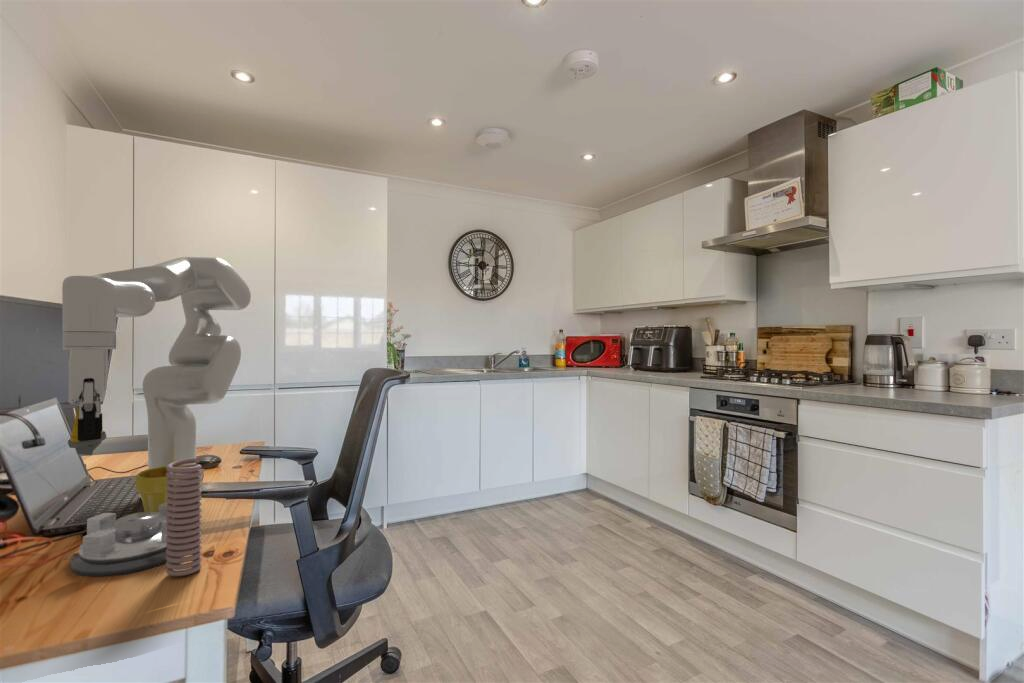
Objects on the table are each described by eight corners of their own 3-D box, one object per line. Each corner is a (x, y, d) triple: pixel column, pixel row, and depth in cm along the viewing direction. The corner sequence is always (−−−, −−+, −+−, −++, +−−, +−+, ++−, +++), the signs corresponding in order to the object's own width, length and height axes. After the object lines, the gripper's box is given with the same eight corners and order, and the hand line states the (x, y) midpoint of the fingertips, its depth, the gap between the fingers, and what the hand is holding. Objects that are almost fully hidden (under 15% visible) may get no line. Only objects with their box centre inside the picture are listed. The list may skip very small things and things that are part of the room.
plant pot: (201, 516, 98) (201, 470, 98) (138, 530, 91) (138, 480, 91) (191, 504, 105) (191, 461, 105) (133, 516, 98) (133, 470, 98)
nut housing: (75, 550, 82) (75, 540, 82) (192, 525, 93) (192, 517, 93) (64, 589, 69) (64, 578, 69) (202, 555, 80) (202, 545, 80)
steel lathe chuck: (82, 540, 82) (82, 515, 82) (186, 519, 92) (186, 497, 92) (74, 572, 70) (74, 544, 70) (195, 544, 80) (195, 519, 80)
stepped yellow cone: (117, 448, 90) (104, 400, 88) (90, 462, 85) (76, 411, 83) (93, 448, 91) (80, 401, 89) (65, 461, 86) (50, 411, 84)
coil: (187, 580, 72) (188, 464, 72) (158, 580, 72) (158, 464, 72) (208, 565, 76) (208, 457, 76) (180, 565, 76) (180, 456, 76)
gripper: (66, 341, 92) (67, 433, 92) (57, 342, 78) (58, 448, 79) (116, 341, 96) (116, 428, 96) (115, 342, 83) (116, 442, 83)
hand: (90, 436), depth 88 cm, fingers closed on stepped yellow cone, 5 cm apart
